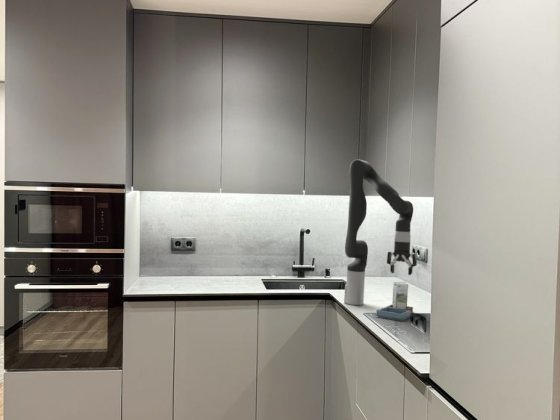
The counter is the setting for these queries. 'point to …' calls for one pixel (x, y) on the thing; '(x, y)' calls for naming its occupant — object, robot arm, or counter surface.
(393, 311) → the slate tray
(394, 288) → the syrup box
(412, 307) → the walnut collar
